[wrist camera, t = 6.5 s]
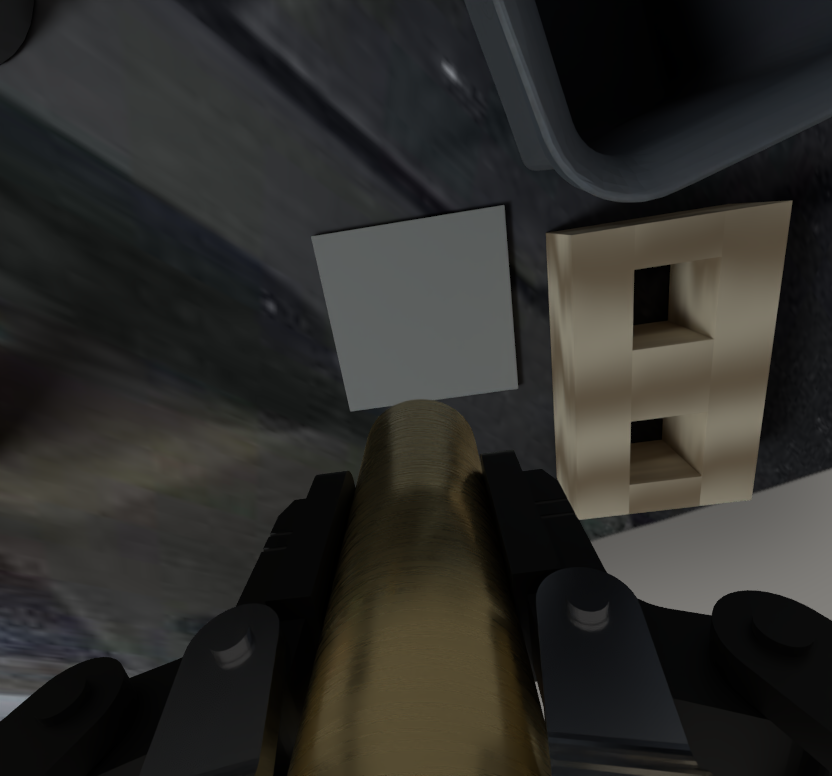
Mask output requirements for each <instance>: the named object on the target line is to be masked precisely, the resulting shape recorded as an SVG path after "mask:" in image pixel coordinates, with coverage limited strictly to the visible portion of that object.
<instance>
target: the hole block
mask: <svg viewBox="0 0 832 776" xmlns="http://www.w3.org/2000/svg"><path fill="white" fill-rule="evenodd" d="M792 201H793V200H792ZM792 201H774V202H756V203H738V204H725V205H719V206H712V207H706V208H700V209H694V210H687V211H681V212H675V213H668V214H662V215H656V216H649V217H643V218H637V219H630V220H624V221H618V222H611V223H605V224H599V225H593V226H586V227H580V228H574V229H567V230H561V231H555V232H548V233H546V247H547V269H548V291H549V313H550V335H551V357H552V378H553V400H554V422H555V444H556V466H557V479H558V481H559V483H560V485H561V487H562V489H563V491H564V493H565V495H566V496H567V498H568V500H569V502H570V504H571V506H572V508H573V510H574V512H575V514H576V515H577V517H578V519H579V520H582V519H590V518H599V517H608V516H616V515H625V514H634V513H642V512H651V511H660V510H668V509H677V508H685V507H694V506H703V505H711V504H720V503H729V502H737V501H746V500H751V499H752V491H753V484H754V477H755V470H756V462H757V455H758V448H759V441H760V433H761V426H762V419H763V411H764V404H765V397H766V390H767V382H768V375H769V368H770V361H771V353H772V346H773V339H774V332H775V324H776V317H777V310H778V303H779V295H780V288H781V281H782V273H783V266H784V259H785V252H786V244H787V237H788V230H789V223H790V215H791V208H792ZM669 264H671V265H670V285H669V305H668V320H667V321H660V322H653V323H646V324H639V325H633V302H634V270H636V269H643V268H650V267H656V266H663V265H669ZM656 418H663V425H662V440H655V441H647V442H639V443H631V444H630V440H631V422H633V421H641V420H648V419H656Z"/></svg>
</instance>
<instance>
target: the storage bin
mask: <svg viewBox="0 0 832 776" xmlns="http://www.w3.org/2000/svg"><path fill="white" fill-rule="evenodd" d="M464 2H465V5H466V7H467V10H468V13H469V16H470V19H471V21H472V24H473V27H474V29H475V32H476V35H477V37H478V40H479V43H480V46H481V48H482V51H483V54H484V56H485V59H486V62H487V64H488V67H489V70H490V72H491V75H492V78H493V81H494V83H495V86H496V89H497V91H498V94H499V97H500V99H501V102H502V105H503V108H504V110H505V113H506V116H507V119H508V121H509V124H510V127H511V130H512V133H513V136H514V139H515V141H516V144H517V147H518V150H519V153H520V156H521V159H522V161H523V163H524V165H525V166H526V167H527V168H529V169H530V170H533V171H542V170H550V169H554V170H555V171H556V172H557V173H558V174H559V175H560V176H561V177H562V178H563V179H564V180H566V181H567V182H568V183H570V184H571V185H573V186H575V187H576V188H578V189H581V190H584V191H587V192H589V193H590V194H592V195H594V196H597V197H600V198H602V199H605V200H610V201H616V202H645V201H649V200H653V199H657V198H661V197H665V196H667V195H669V194H671V193H674V192H676V191H678V190H681V189H683V188H685V187H687V186H689V185H691V184H694V183H696V182H698V181H700V180H702V179H704V178H706V177H708V176H710V175H712V174H714V173H716V172H718V171H720V170H723V169H725V168H727V167H729V166H731V165H733V164H735V163H737V162H739V161H741V160H743V159H745V158H747V157H750V156H752V155H754V154H756V153H758V152H760V151H762V150H764V149H766V148H768V147H770V146H773V145H775V144H777V143H779V142H781V141H783V140H785V139H787V138H789V137H791V136H793V135H795V134H797V133H799V132H802V131H804V130H806V129H808V128H810V127H812V126H814V125H816V124H818V123H820V122H822V121H824V120H826V119H828V118H830V117H832V0H464Z"/></svg>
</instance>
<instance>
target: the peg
mask: <svg viewBox="0 0 832 776" xmlns="http://www.w3.org/2000/svg"><path fill="white" fill-rule="evenodd" d="M287 776H551V775H550V764H549V752H548V740H547V729H546V725H545V721H544V717H543V713H542V709H541V705H540V701H539V697H538V693H537V689H536V685H535V681H534V677H533V673H532V669H531V664H530V660H529V656H528V652H527V648H526V644H525V640H524V636H523V632H522V628H521V624H520V621H519V619H518V616H517V614H516V611H515V607H514V603H513V599H512V595H511V591H510V587H509V583H508V578H507V574H506V570H505V566H504V562H503V558H502V554H501V550H500V545H499V541H498V537H497V533H496V529H495V525H494V521H493V517H492V513H491V508H490V504H489V500H488V496H487V492H486V488H485V484H484V480H483V475H482V469H481V463H480V459H479V455H478V451H477V447H476V443H475V438H474V435H473V432H472V429H471V428H470V426H469V424H468V422H467V421H466V420H465V418H464V417H463V416H462V415H461V414H460V413H458V412H457V411H456V410H455V409H453V408H451V407H450V406H448V405H446V404H443V403H441V402H437V401H434V400H428V399H415V400H409V401H404V402H401V403H398V404H396V405H394V406H392V407H391V408H389V409H387V410H386V411H385V412H384V413H382V414H381V415H380V416H379V417H378V419H377V420H376V421H375V423H374V424H373V426H372V428H371V430H370V432H369V435H368V439H367V443H366V447H365V451H364V456H363V460H362V464H361V468H360V472H359V477H358V481H357V485H356V489H355V493H354V497H353V502H352V506H351V510H350V514H349V518H348V523H347V527H346V531H345V535H344V539H343V544H342V548H341V552H340V556H339V560H338V564H337V569H336V573H335V577H334V581H333V585H332V590H331V594H330V598H329V602H328V606H327V611H326V615H325V619H324V623H323V627H322V631H321V636H320V640H319V644H318V648H317V652H316V657H315V661H314V665H313V669H312V673H311V678H310V682H309V686H308V690H307V694H306V698H305V703H304V707H303V711H302V715H301V719H300V724H299V728H298V732H297V736H296V740H295V745H294V749H293V753H292V757H291V761H290V765H289V770H288V774H287Z"/></svg>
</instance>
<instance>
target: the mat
mask: <svg viewBox="0 0 832 776" xmlns="http://www.w3.org/2000/svg"><path fill="white" fill-rule="evenodd" d="M311 238H312V242H313V247H314V251H315V256H316V260H317V265H318V269H319V274H320V278H321V283H322V287H323V292H324V296H325V300H326V305H327V309H328V314H329V318H330V323H331V327H332V332H333V336H334V341H335V345H336V350H337V354H338V359H339V363H340V367H341V372H342V376H343V381H344V385H345V390H346V394H347V399H348V403H349V408H350V411H357V410H364V409H371V408H379V407H386V406H393V405H396V404H398V403H401V402H404V401H409V400H415V399H428V400H437V399H445V398H452V397H460V396H467V395H474V394H482V393H489V392H496V391H504V390H511V389H518V379H517V366H516V353H515V340H514V326H513V313H512V300H511V287H510V273H509V260H508V247H507V234H506V220H505V207H504V205H501V206H495V207H489V208H483V209H477V210H471V211H465V212H458V213H452V214H446V215H440V216H434V217H428V218H422V219H416V220H409V221H403V222H397V223H391V224H385V225H379V226H373V227H367V228H361V229H354V230H348V231H342V232H336V233H330V234H324V235H318V236H312V237H311Z"/></svg>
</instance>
